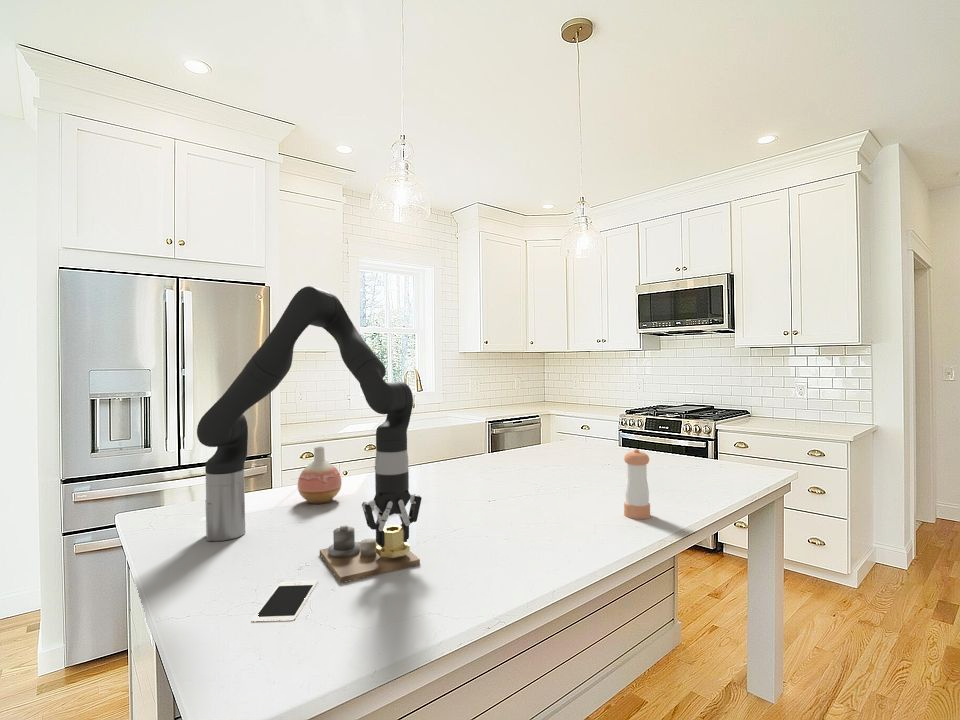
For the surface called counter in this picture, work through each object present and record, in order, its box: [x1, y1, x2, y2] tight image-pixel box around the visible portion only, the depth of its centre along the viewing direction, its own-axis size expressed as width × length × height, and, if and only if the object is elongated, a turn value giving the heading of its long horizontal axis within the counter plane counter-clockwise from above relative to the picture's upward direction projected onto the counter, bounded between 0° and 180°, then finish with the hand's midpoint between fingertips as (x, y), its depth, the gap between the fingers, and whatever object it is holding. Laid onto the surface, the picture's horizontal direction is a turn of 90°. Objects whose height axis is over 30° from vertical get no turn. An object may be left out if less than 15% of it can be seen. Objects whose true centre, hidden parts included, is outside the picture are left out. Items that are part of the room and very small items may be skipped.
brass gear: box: [376, 524, 411, 558], centre depth 120 cm, size 7×7×5 cm
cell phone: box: [256, 580, 319, 621], centre depth 102 cm, size 8×16×1 cm, turn 2°
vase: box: [297, 446, 343, 505], centre depth 170 cm, size 14×14×18 cm
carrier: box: [319, 525, 421, 584], centre depth 121 cm, size 18×18×7 cm
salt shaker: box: [623, 448, 651, 520], centre depth 151 cm, size 7×7×19 cm
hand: (392, 543), depth 120 cm, fingers closed on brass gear, 4 cm apart
